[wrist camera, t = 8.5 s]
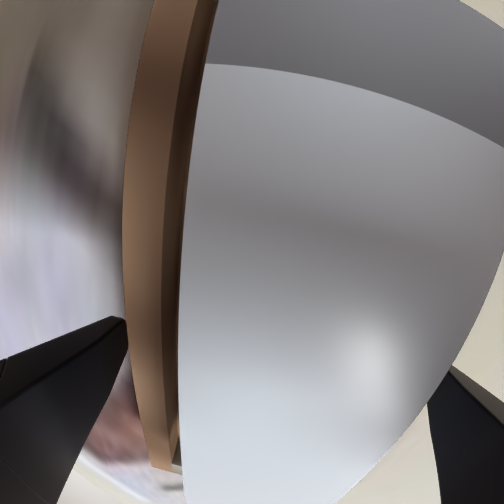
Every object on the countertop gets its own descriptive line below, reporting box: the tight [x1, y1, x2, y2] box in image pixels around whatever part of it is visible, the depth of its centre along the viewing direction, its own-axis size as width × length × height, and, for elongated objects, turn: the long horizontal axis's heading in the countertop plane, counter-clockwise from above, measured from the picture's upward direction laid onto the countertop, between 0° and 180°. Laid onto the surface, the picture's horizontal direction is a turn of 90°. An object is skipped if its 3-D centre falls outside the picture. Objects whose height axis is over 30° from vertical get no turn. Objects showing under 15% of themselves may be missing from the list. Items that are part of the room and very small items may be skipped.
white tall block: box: [178, 0, 504, 504], centre depth 7 cm, size 16×4×5 cm, turn 171°
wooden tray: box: [122, 0, 219, 475], centre depth 9 cm, size 21×10×2 cm, turn 171°
